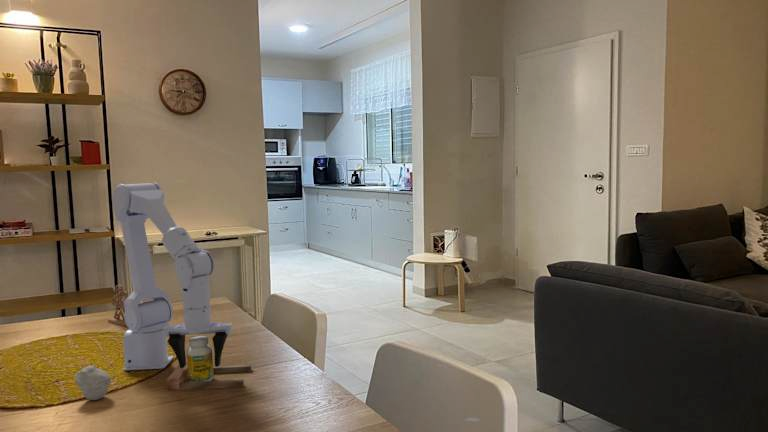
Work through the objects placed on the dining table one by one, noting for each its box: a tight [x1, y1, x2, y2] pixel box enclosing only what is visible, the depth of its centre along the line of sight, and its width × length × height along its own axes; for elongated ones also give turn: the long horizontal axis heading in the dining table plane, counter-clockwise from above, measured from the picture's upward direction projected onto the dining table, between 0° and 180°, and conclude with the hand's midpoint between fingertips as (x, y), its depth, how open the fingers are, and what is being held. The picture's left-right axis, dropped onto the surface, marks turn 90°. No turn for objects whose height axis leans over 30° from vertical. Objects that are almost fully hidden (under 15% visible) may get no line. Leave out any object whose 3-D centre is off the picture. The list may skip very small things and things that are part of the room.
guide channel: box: [166, 361, 252, 391], centre depth 129 cm, size 16×10×2 cm, turn 93°
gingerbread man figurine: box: [107, 284, 129, 327], centre depth 178 cm, size 9×4×12 cm, turn 56°
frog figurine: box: [74, 365, 112, 401], centre depth 120 cm, size 6×7×7 cm
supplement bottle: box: [186, 335, 215, 382], centre depth 129 cm, size 5×5×10 cm
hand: (200, 365), depth 129 cm, fingers open, 7 cm apart
